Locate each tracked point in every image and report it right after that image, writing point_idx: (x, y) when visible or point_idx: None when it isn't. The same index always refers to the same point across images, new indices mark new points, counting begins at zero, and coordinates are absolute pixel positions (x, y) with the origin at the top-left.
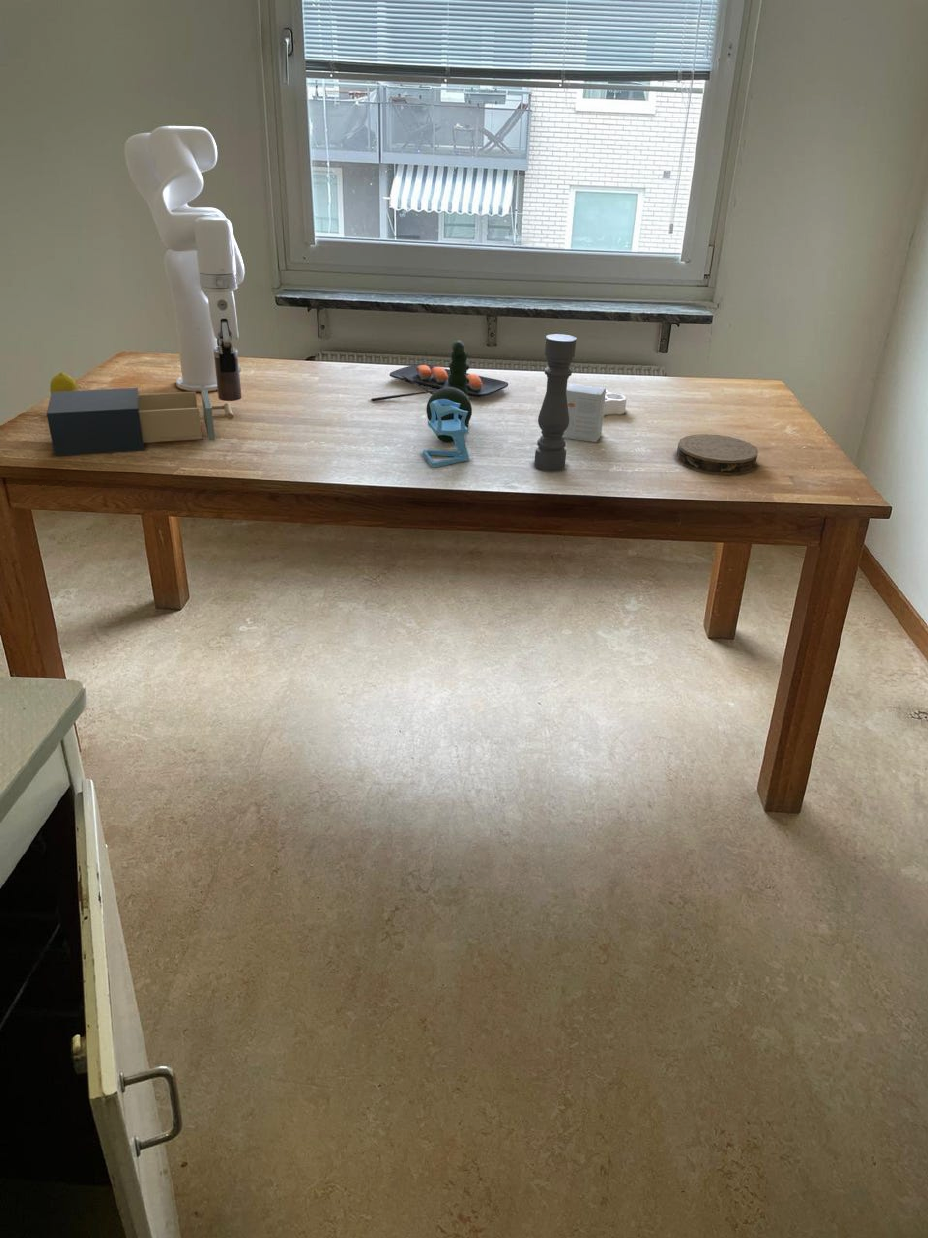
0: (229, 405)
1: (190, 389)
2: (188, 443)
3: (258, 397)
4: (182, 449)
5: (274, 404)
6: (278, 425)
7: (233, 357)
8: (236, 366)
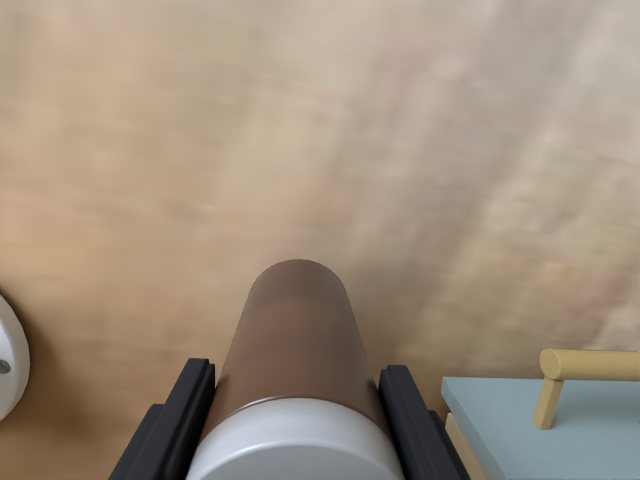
0: (584, 363)
1: (17, 402)
2: None
3: (134, 145)
4: None
5: (259, 94)
6: (543, 143)
7: (443, 453)
8: (359, 364)
